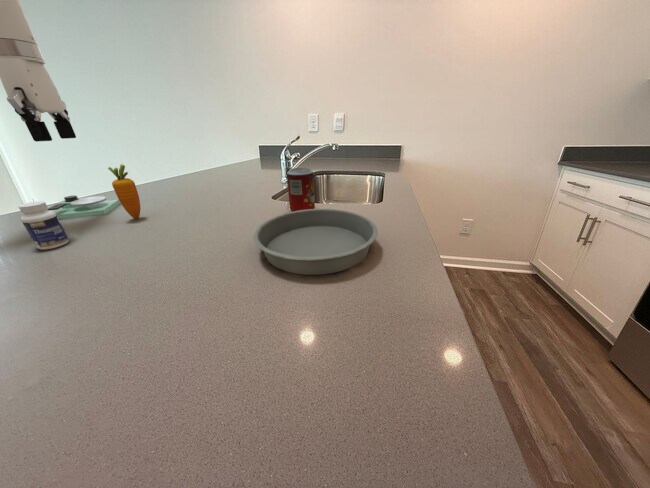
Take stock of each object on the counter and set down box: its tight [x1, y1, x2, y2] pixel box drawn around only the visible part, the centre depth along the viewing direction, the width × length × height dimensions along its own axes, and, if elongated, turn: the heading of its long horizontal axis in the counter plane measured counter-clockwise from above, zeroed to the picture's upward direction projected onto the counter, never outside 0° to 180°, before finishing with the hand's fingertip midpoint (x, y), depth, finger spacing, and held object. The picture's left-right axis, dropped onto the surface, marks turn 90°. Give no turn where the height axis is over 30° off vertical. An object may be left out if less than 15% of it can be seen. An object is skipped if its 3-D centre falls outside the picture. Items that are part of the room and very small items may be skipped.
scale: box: [54, 197, 121, 220], centre depth 80 cm, size 14×12×3 cm
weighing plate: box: [71, 195, 107, 206], centre depth 79 cm, size 8×8×1 cm
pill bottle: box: [18, 200, 70, 251], centre depth 56 cm, size 5×5×10 cm
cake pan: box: [252, 208, 379, 276], centre depth 53 cm, size 25×25×4 cm
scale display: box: [47, 203, 67, 211], centre depth 75 cm, size 2×5×1 cm, turn 17°
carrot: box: [107, 164, 141, 221], centre depth 69 cm, size 5×5×15 cm
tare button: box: [63, 195, 79, 202], centre depth 81 cm, size 3×3×2 cm
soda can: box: [286, 167, 316, 212], centre depth 71 cm, size 7×7×12 cm
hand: (57, 139), depth 63 cm, fingers open, 9 cm apart
